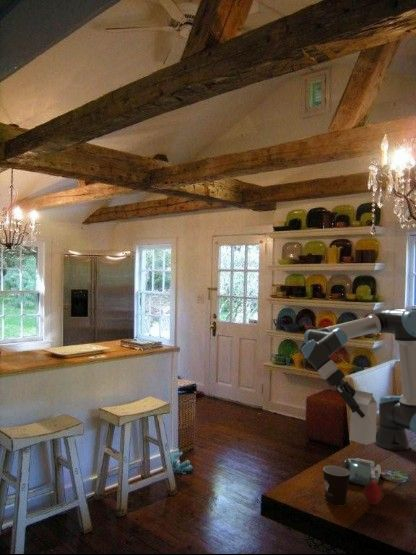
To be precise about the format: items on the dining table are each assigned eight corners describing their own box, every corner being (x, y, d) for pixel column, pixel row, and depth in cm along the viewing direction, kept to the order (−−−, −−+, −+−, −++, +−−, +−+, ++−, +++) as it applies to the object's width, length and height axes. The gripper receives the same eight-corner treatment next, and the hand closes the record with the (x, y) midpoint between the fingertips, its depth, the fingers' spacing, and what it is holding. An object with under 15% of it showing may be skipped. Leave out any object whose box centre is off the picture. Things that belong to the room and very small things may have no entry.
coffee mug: (350, 509, 141) (351, 477, 142) (322, 505, 143) (323, 473, 143) (346, 493, 152) (347, 464, 153) (320, 490, 154) (321, 461, 155)
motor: (349, 466, 178) (349, 447, 179) (380, 473, 173) (381, 453, 173) (339, 483, 161) (340, 462, 162) (374, 491, 156) (374, 469, 156)
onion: (372, 509, 141) (373, 484, 142) (359, 501, 147) (360, 477, 147) (386, 507, 144) (387, 482, 144) (373, 499, 149) (373, 475, 149)
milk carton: (366, 445, 166) (368, 394, 166) (349, 440, 171) (351, 390, 172) (375, 442, 170) (377, 392, 171) (358, 437, 176) (360, 389, 177)
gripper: (330, 376, 188) (368, 420, 180) (318, 383, 169) (360, 433, 161) (344, 365, 186) (383, 409, 178) (332, 371, 167) (376, 421, 159)
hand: (372, 421), depth 169 cm, fingers closed on milk carton, 9 cm apart
